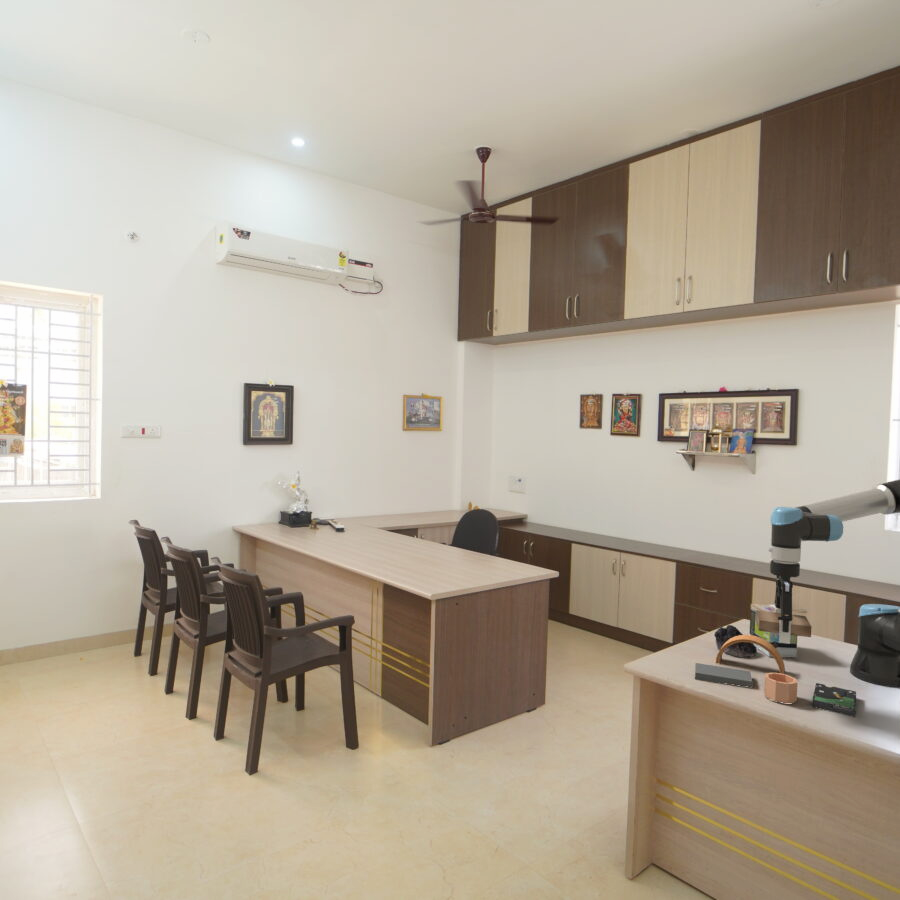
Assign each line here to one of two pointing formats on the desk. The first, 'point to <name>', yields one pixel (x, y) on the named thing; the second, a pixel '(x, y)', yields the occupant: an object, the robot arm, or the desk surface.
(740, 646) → the crystal cluster
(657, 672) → the desk surface
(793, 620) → the cover board
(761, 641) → the arch
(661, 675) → the desk surface
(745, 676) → the block
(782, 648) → the tea box
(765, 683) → the plant pot
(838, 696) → the disk drive
